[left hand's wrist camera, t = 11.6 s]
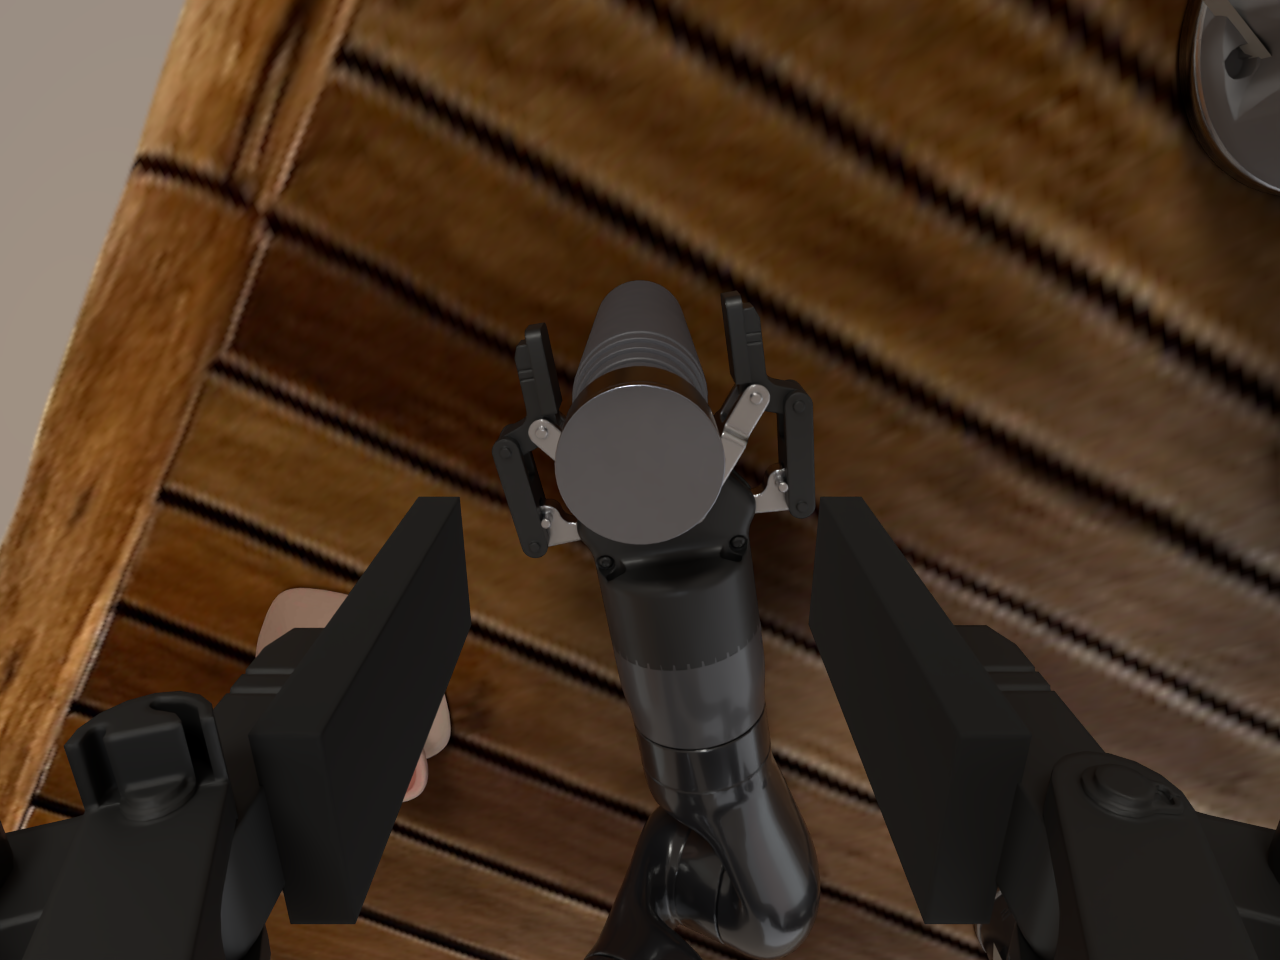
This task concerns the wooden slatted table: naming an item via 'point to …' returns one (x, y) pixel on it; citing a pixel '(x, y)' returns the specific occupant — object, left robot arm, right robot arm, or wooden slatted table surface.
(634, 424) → the cap
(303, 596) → the anatomical model
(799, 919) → the right robot arm
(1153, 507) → the wooden slatted table surface
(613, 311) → the bottle
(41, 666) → the wooden slatted table surface
